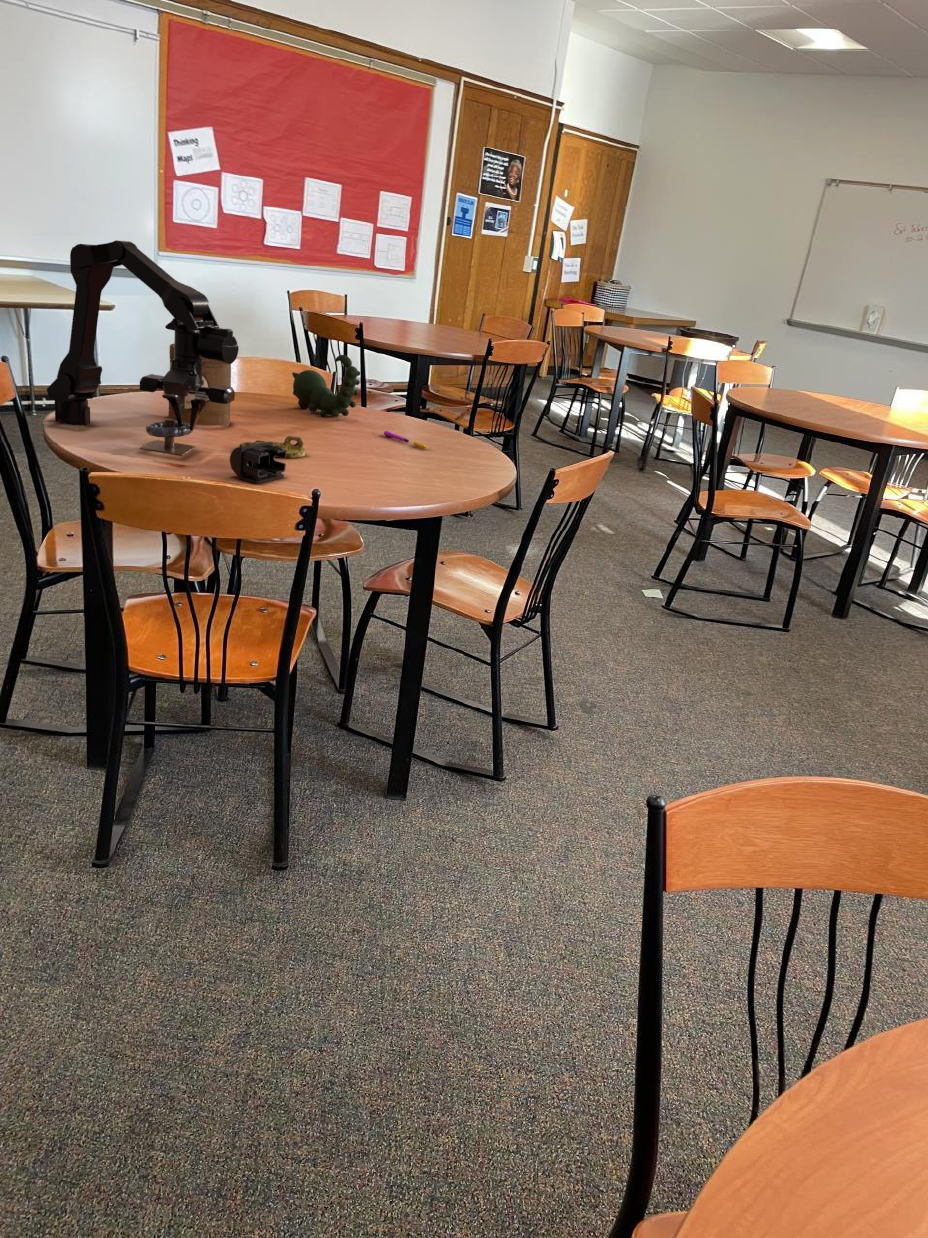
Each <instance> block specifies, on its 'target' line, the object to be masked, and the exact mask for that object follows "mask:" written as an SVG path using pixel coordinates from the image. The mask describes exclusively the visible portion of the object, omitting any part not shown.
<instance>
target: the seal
mask: <svg viewBox="0 0 928 1238" xmlns="http://www.w3.org/2000/svg"><path fill="white" fill-rule="evenodd" d="M291 441H293V442H296V443H292V442H291ZM264 442H267V441H265V440H260V439H259V440H258V439H257V440H255V441H254V442H251V441H245V442H242V443H240V444H239V446H238V447H242V446H248V445H253V444H258V443H264ZM272 442H273V446H274V447H278V448H281V449H285V450H286V458H284V457H280V456H277V455H276V456H275V458H283V459H295V458H301V457H305V456H306V448H304V439H303V437H300V436H292V435H288V436H286V437H285V439H284V442H276V441H275V442H274V441H272Z"/></svg>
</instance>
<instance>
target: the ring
mask: <svg viewBox="0 0 928 1238" xmlns="http://www.w3.org/2000/svg"><path fill="white" fill-rule="evenodd" d="M193 431H194V430H192V431H191V430H190V424H189V423H186V422H184V426H181V427H179V424H178V421H176V420H175V422H174V428H165V421H157V422H151V423H149V424H147V425H146V426H145V432H146V433H147V435H149V436H150V437H154V438H155V437H156V438H164V437H174V438H180V437H185V436H188V435H191V434H192V433H193Z"/></svg>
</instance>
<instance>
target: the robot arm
mask: <svg viewBox="0 0 928 1238" xmlns="http://www.w3.org/2000/svg"><path fill="white" fill-rule="evenodd" d="M70 249H71V250H70V253H69V264H70V265H69V267H70V269H69V270H70V274H71V276H72V279H73V281H74V284H75V296H74V303H73V304H74V305H73V313H72V321H71V331H70V338H69V339H70V340H69V347H68V352H67V353H66V355H65V357H63V359H62V361H61V362H60V364H59V367H58V371H57V374H56V379H54V380H53V382H51V383H50V385H49V386H47V388H46V392H47V396H48V398H49V399H50V400H53V401H54V421H55V422H58V423H59V424H63V425H69V426H88V425H91V407H90V406H89V399H90V400H92V399H93V398H94V396H95V393H96V391H97V390H98V388H99V385H101V384H102V380H101V377H102V373H103V367H102V366H101V365H98V364H97V361H96V360H95V357H94V352H95V346H96V338H97V329H98V322H99V314H100V306H101V298H102V291H103V290H104V288H105V287H106V286H107V284H108V283H109V281H110V280H111V278H112V274H113V270H114V268H117V267H121V266H123V267H124V268H125V269H126V270H128V271H129V272H130V273H131V274H132V275H134V276H135V277H136V278H137V279H138V280H139V281H141V282H142V283H143V284H144V285H145V286H147V287H148V288H149V289H150V290H151V291H153V293H155V294H156V295H157V296H158V297H159V298H160V299H161V301H162V304H163V306H164V308H165V309H166V311H167V312H168V313H169V314H170V315H171V316H172V317H173V318H172V320H171V321H170V322H168V323H167V324H166V325H165V329H166V330H170V331H174V340H173V341H174V342H173V344H174V359H173V360H172V363H171V369H170V368H169V370H168V371H167V372H166V373H165V375H159V374H153V373H149V374H147V375H144V376H142V377H141V378H140V380H139V390H140V391H141V392H148V393H155V392H156V391H157V390H163V394H162V395H161V397H162V398H163V399H165V400H167V402H168V403H169V402H170V404H171V406H172V408H173V410H174V413H175V416H176V419H177V421H178V424H179V427H181V426H184V413H185V397H186V396H187V395H188V393H189V394H194V396H195V399H192V400H190V402H191V406H192V409H191V419H190V430H191V431H192V430H193V431H194V430H195V428H196V426H197V425H196V423H197V421H198V419H199V417H200V414H201V412H202V410H203V409H204V407H205V405H206V404H207V403H209V402H215V403H221V404H228V403H230V402H231V403H232V402H235V398H236V397H235V396H236V392H235V389H234V388H233V387H232V386H231V387H228V386H222V385H215V386H212V387H210V388H208V387H202V385H204V380H202V366H203V365H204V360H203V358H204V359H208V360H213V361H218V362H222V363H227V364H231V365H232V364H233V363H235V362H236V359H237V357H238V354H239V347H240V346H239V345H238V340H237V338H236V337H235V336H234V329H231V328H221V327H220V325H219V323H218V321H217V319H216V317H215V315H214V313H213V311H212V310H211V307H210V305H209V299H208V297H207V296H206V295H205V294H204V293H202V292H200V290H197V289H195V288H194V287H192V286H189V285H187V284H184V283H182V282H180V281H178V280H176V279H175V278H173V276H171V275H170V274H169V273H168V272H167V271H166V270H165V269H163V268H162V267H160V266H159V265H158V264H157V263H156V262H155V261H154V260H152V259H151V258H150V257H149V256H147V255H146V254H145V253H144V252H143V251H142V250H140V249H139V248H138V246H137V245H136V244H135V243H134V242H133V241H127V240H113V241H111V242H106V243H99V244H89V243H88V244H87V243H77V244H76V245H74V246H72V248H70Z"/></svg>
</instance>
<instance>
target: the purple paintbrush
mask: <svg viewBox="0 0 928 1238" xmlns="http://www.w3.org/2000/svg"><path fill="white" fill-rule="evenodd" d="M383 435H384V436H386V437H389V438H391V439H392V438H393V439H395V440H398V441H401V442H403V443H411V444H413V446H414V447H416V448H421V449H424V450H426V449H429V447H427V446H426V445H425V444H423V443H421V442H418V441H414V442H413V441H410V439H408V438H406V437H403V436H401V435H399V434H395V433H394V432H390V431H389V430H385V431H384V432H383Z"/></svg>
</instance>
